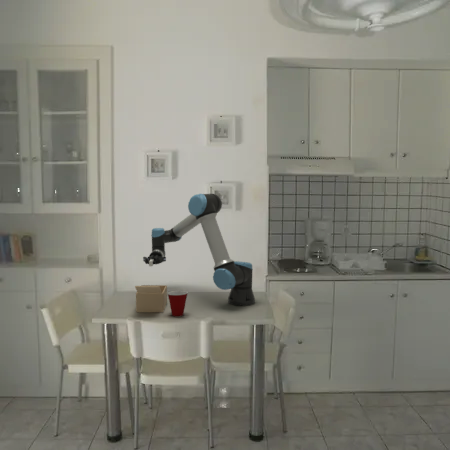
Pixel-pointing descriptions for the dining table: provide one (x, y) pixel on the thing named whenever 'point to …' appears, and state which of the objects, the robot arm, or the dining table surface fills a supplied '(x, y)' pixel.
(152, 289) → the flap
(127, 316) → the dining table surface
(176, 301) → the plastic cup
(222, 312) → the dining table surface
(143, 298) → the carton
